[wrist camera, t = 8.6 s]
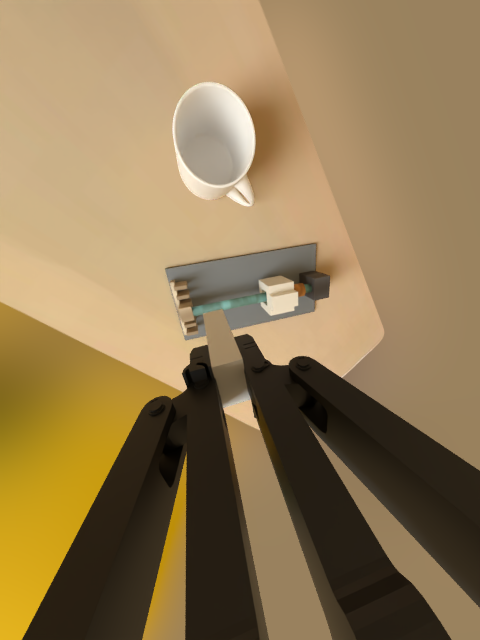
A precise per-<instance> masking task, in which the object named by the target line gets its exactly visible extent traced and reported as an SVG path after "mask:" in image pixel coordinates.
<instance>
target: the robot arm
mask: <svg viewBox="0 0 480 640" xmlns="http://www.w3.org/2000/svg"><path fill="white" fill-rule="evenodd" d="M203 318H204V324H205V330H206V336H207V342H208V345H205V346H201V347H197V348H193V350H192V351H191V353H190V364H189V365H188V366H186V368H185V369H184V370H183V373H182V375H183V378H184V380H185V383H186V386H187V389H186V390H185V391H184V392H183V393H182V394H180V395H179V396H177V397H175V398H173V399H172V400H171V398H169V397H167V396H160V397H156V398H154V399H153V400H151V401H149V402H148V403H147V404H146V405H145V406H144V408H143V409H142V410H141V412H140V414H139V416H138V418H137V420H136V422H135V424H134V426H133V428H132V430H131V432H130V433H129V435H128V437H127V439H126V441H125V443H124V445H123V447H122V449H121V451H120V453H119V455H118V457H117V458H116V460H115V462H114V464H113V466H112V468H111V470H110V472H109V474H108V476H107V478H106V480H105V481H104V483H103V485H102V487H101V489H100V491H99V493H98V495H97V497H96V499H95V501H94V503H93V504H92V506H91V508H90V510H89V512H88V514H87V516H86V518H85V520H84V522H83V524H82V526H81V528H80V530H79V531H78V533H77V535H76V537H75V539H74V541H73V543H72V545H71V547H70V549H69V551H68V552H67V554H66V556H65V558H64V560H63V562H62V564H61V566H60V568H59V570H58V572H57V574H56V576H55V577H54V579H53V582H52V583H51V585H50V587H49V589H48V591H47V593H46V595H45V597H44V599H43V601H42V602H41V604H40V606H39V608H38V610H37V612H36V614H35V616H34V618H33V620H32V622H31V624H30V625H29V627H28V630H27V631H26V633H25V635H24V637H23V639H22V640H142V638H143V633H144V628H145V625H146V621H147V616H148V612H149V607H150V604H151V599H152V595H153V591H154V587H155V582H156V578H157V574H158V570H159V566H160V561H161V557H162V553H163V549H164V545H165V540H166V536H167V532H168V527H169V523H170V519H171V515H172V511H173V506H174V502H175V498H176V494H177V490H178V485H179V481H180V477H181V472H182V469H183V464H184V460H185V456H186V452H187V482H186V489H187V490H186V494H187V495H186V626H185V627H186V630H185V633H186V634H185V637H186V638H185V640H269V638H268V633H267V627H266V623H265V617H264V612H263V607H262V603H261V597H260V592H259V587H258V581H257V576H256V571H255V566H254V561H253V556H252V551H251V546H250V541H249V536H248V530H247V525H246V520H245V515H244V510H243V505H242V500H241V494H240V489H239V484H238V479H237V474H236V469H235V464H234V459H233V454H232V448H231V444H230V438H229V433H228V428H227V423H226V418H225V414H224V410H223V408H225V407H228V406H231V405H235V404H238V403H241V402H244V401H248V400H250V398H251V401H252V407H253V412H254V417H255V418H256V419H257V422H258V425H259V427H260V430H261V433H262V436H263V438H264V442H265V444H266V447H267V450H268V453H269V456H270V459H271V462H272V464H273V467H274V470H275V473H276V476H277V479H278V482H279V485H280V487H281V490H282V493H283V496H284V499H285V502H286V505H287V507H288V510H289V513H290V516H291V519H292V522H293V525H294V528H295V530H296V533H297V536H298V539H299V542H300V545H301V548H302V551H303V553H304V556H305V559H306V562H307V565H308V568H309V571H310V574H311V576H312V579H313V582H314V585H315V587H316V591H317V593H318V596H319V599H320V602H321V605H322V608H323V611H324V613H325V617H326V620H327V623H328V626H329V629H330V633H331V636H332V640H451V638H450V637H449V635H448V634H447V632H446V630H445V629H444V627H443V626H442V624H441V622H440V621H439V620H438V618H437V616H436V615H435V613H434V612H433V611H432V609H431V608H430V606H429V605H428V603H427V602H426V600H425V599H424V598H423V596H422V595H421V594H420V593H419V591H418V590H417V589H416V588H415V586H414V585H413V584H412V583H411V582H410V581H409V580H407V579H406V578H405V577H404V576H403V575H402V574H401V573H399V572H398V571H397V569H396V568H395V567H394V566H393V564H392V563H391V561H390V560H389V558H388V557H387V555H386V554H385V552H384V550H383V549H382V547H381V545H380V544H379V542H378V540H377V539H376V537H375V535H374V534H373V532H372V530H371V529H370V527H369V525H368V524H367V522H366V520H365V519H364V517H363V515H362V514H361V512H360V510H359V509H358V507H357V505H356V504H355V502H354V500H353V499H352V497H351V495H350V494H349V492H348V490H347V489H346V487H345V485H344V484H343V482H342V480H341V479H340V477H339V475H338V474H337V472H336V470H335V469H334V467H333V465H332V464H331V462H330V460H329V459H328V457H327V455H326V454H325V452H324V450H323V449H322V447H321V445H320V444H319V442H318V440H317V439H316V437H315V435H314V434H313V432H312V430H311V429H310V427H311V428H312V429H313V431H314V432H315V433H316V434H317V435H318V436H319V437H320V438H321V439H322V440H323V441H324V442H325V443H326V444H327V445H328V446H329V448H330V449H331V450H332V451H333V452H334V453H335V454H336V455H337V456H338V457H339V458H340V459H341V460H342V461H343V463H345V465H346V466H347V467H348V468H349V469H350V470H351V471H352V472H353V473H354V474H355V475H356V476H357V477H358V479H359V480H360V481H361V482H362V483H363V484H364V485H365V486H366V487H367V488H368V489H369V490H370V491H371V492H372V493H373V494H374V495H375V497H376V498H377V499H378V500H379V501H380V502H381V503H382V504H383V505H384V506H385V507H386V508H387V509H388V510H389V512H390V513H391V514H392V515H393V516H394V517H395V518H396V519H397V520H398V521H399V522H400V523H401V524H402V525H403V526H404V528H405V529H406V530H407V531H408V532H409V533H410V534H411V535H412V536H413V537H414V538H415V539H416V540H417V541H418V542H419V543H420V545H421V546H422V547H423V548H424V549H425V550H426V551H427V552H428V553H429V554H430V555H431V556H432V557H433V558H434V559H435V561H436V562H437V563H438V564H439V565H440V566H441V567H442V568H443V569H444V570H445V571H446V572H447V573H448V574H449V575H450V576H451V577H452V579H453V580H454V581H455V582H456V583H457V584H458V585H459V586H460V587H461V588H462V589H463V590H464V591H465V592H466V594H467V595H468V596H469V597H470V598H471V599H472V600H473V601H474V602H475V603H476V604H477V605H478V606H479V607H480V471H479V470H478V469H476V468H475V467H473V466H472V465H470V464H469V463H467V462H465V461H464V460H463V459H461V458H460V457H458V456H457V455H455V454H453V453H452V452H451V451H449V450H448V449H446V448H445V447H444V446H442V445H441V444H439V443H438V442H436V441H434V440H433V439H432V438H430V437H429V436H427V435H426V434H424V433H423V432H421V431H420V430H418V429H417V428H415V427H414V426H412V425H411V424H409V423H408V422H406V421H405V420H403V419H402V418H400V417H399V416H397V415H396V414H394V413H393V412H391V411H390V410H388V409H387V408H385V407H384V406H382V405H381V404H380V403H378V402H377V401H375V400H374V399H372V398H371V397H369V396H367V395H366V394H365V393H363V392H362V391H360V390H359V389H357V388H356V387H354V386H353V385H351V384H350V383H348V382H347V381H345V380H344V379H342V378H341V377H339V376H338V375H336V374H335V373H333V372H332V371H330V370H329V369H327V368H326V367H324V366H323V365H321V364H320V363H318V362H317V361H316V360H314V359H312V358H310V357H306V356H298V357H295V358H293V359H292V360H290V362H289V365H283V366H279V365H273V364H271V362H270V361H268V360H266V359H265V358H264V356H263V355H262V353H261V351H260V349H259V348H258V346H257V344H256V343H255V341H254V339H253V337H251V336H250V335H248V334H245V335H241V336H237V337H233V334H232V332H231V329H230V327H229V324H228V322H227V319H226V317H225V314H224V312H223V310H222V309H220V310H216V311H212V312H207V313H203ZM309 426H310V427H309Z"/></svg>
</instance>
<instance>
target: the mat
mask: <svg viewBox="0 0 480 640" xmlns="http://www.w3.org/2000/svg"><path fill="white" fill-rule="evenodd" d="M165 271H166V274H167V278H168V281H169V285H170V281H171V280H175V283H176V282H181V281H187V289H183V290H188V289H189V292H190V298H191V301H192V305H193V307H195V306H200V305H205V304H210V303H215V302H220V301H225V300H230V299H235V298H240V297H245V296H250V295H255V294H260V290H259V280H260V279H265V278H270V277H275V276H283V277H285V278H287V279H290V280H292V281H294V284H298V283H299V273H303V272H309V271H316V244H309V245H303V246H297V247H291V248H285V249H279V250H273V251H267V252H261V253H256V254H250V255H244V256H238V257H232V258H226V259H220V260H214V261H208V262H202V263H196V264H190V265H184V266H178V267H173V268H167V269H165ZM170 288H171V286H170ZM177 291H182V290H177ZM171 292H172V290H171ZM172 295H173V293H172ZM190 298H187V299H190ZM173 299H174V297H173ZM182 300H185V299H182ZM174 302H175V300H174ZM175 306H176V304H175ZM314 308H315V300H312V299H310V298H308V297H307V296H305V295H304V296H301V297H298V306H295V307H294V311H290V312H286V313H281V314H277V315H272V316H270V315H269V314H268V313H267V312H266V311H265V310H264V309H263V308H262V307H261V303H256V304H251V305H246V306H242V307H237V308H232V309H227V310H223V312H224V314H225V317H226V319H227V322H228V324H229V327H230V329H231V330H234V329H238V328H243V327H247V326H252V325H256V324H261V323H265V322H270V321H274V320H279V319H283V318H287V317H292V316H296V315H301V314H305V313H310V312H314ZM176 309H177V307H176ZM177 313H178V311H177ZM178 316H179V314H178ZM195 317H196V323H197V325H198V334H195V335H190V336H187V335H184V337H185V340H189V339H194V338H198V337H203V336H206V330H205V324H204V318H203V315H198V316H195ZM179 320H180V318H179ZM180 323H181V321H180ZM181 327H182V325H181ZM182 330H183V328H182ZM183 334H184V332H183Z"/></svg>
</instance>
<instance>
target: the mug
mask: <svg viewBox="0 0 480 640" xmlns="http://www.w3.org/2000/svg"><path fill="white" fill-rule="evenodd" d="M173 139H174V145H175V151H176V157H177V163H178V168H179V172H180V175H181V178H182V180H183V182H184V183H185V185H186V186H187V188H188V189H189V190H190V191H191V192H192V193H193V194H195V195H196V196H198V197H200V198H202V199H206V200H215V199H219V198H221V197H223V196H225V195H226V196H228V197H229V198H231V199H232V200H234V201H235V202H237V203H239V204H241V205H244V206H248V207H250V206H253V204H254V201H255V198H254V193H253V190H252V187H251V184H250V182H249V179H248V177H247V174H246V173H247V172H248V170H249V168H250V166H251V164H252V161H253V158H254V154H255V146H256V136H255V129H254V124H253V121H252V118H251V115H250V113H249V111H248V109H247V107H246V105H245V103H244V102H243V101H242V99H241V98H240V97H239V96H238V95H237V94H236V93H235V92H234V91H233V90H231V89H230V88H228V87H227V86H225V85H223V84H220V83H216V82H202V83H199V84H196V85H194V86H192V87H191V88H190V89H188V90H187V91H186V92H185V93H184V94H183V96H182V97H181V99H180V100H179V102H178V104H177V107H176V110H175V113H174V118H173ZM238 190H239V191H240V192H241V193H242V194H243V195H244V196H245V197H246V199H247V200H248V201H249V203H248V202H247V201H246V200H245V199H244V198H243V197H242V195H241V194H240V192H239V191H238Z"/></svg>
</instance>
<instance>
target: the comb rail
mask: <svg viewBox="0 0 480 640" xmlns="http://www.w3.org/2000/svg"><path fill="white" fill-rule="evenodd" d="M170 286H171V290H172V293H173V297H174V300H175V304H176V307H177V311H178V314H179V318H180V321H181V325H182V328H183V332H184V335H187V336H190V335H195V334H198V325H197V323H196V317H195V316H198V315H203V313H207V312H212V311H216V310H220V309H222V310H227V309H232V308H237V307H242V306H246V305H251V304H256V303H261V302H266V301H267V295H266V292H265V293H260V294H255V295H250V296H245V297H240V298H235V299H230V300H225V301H220V302H215V303H210V304H205V305H200V306H195V307H193V305H192V301H191V298H190V292H189V289H188V290H183V289H187V281H181V282H176V283H175V280H171V281H170ZM329 287H330V276H329V275H326V274H323V273H319V272H316V271H309V272H303V273H299V283H298V284H294V290H295V291H297V292H298V297H301V296H304V295H305V296H307V297H308V298H310V299H312V300H319V299H323V298H328V297H329ZM177 290H182V291H177ZM187 298H190V299H187ZM182 299H185V300H182Z"/></svg>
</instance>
